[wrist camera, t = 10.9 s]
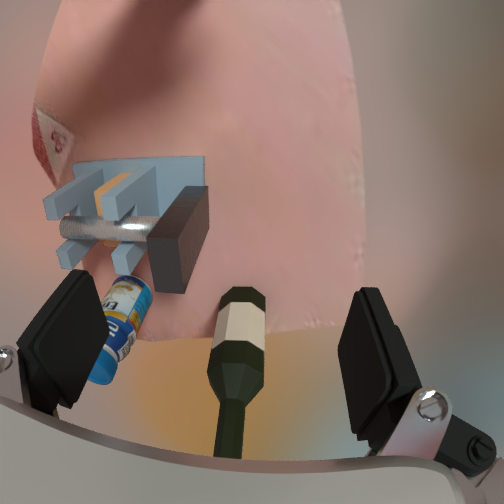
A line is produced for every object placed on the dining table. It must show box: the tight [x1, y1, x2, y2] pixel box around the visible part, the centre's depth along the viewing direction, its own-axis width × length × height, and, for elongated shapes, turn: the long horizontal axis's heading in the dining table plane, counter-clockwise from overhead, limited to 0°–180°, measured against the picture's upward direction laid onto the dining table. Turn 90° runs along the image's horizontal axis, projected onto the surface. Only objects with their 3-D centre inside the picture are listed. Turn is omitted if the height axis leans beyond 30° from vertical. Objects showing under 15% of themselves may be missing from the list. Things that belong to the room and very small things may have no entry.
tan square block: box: [94, 173, 132, 247], centre depth 39 cm, size 4×8×8 cm, turn 178°
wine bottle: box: [207, 287, 265, 459], centre depth 40 cm, size 8×8×30 cm
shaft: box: [60, 186, 209, 294], centre depth 33 cm, size 18×6×14 cm, turn 88°
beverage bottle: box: [88, 275, 153, 385], centre depth 44 cm, size 8×8×20 cm
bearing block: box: [43, 156, 205, 275], centre depth 37 cm, size 22×12×14 cm, turn 88°
